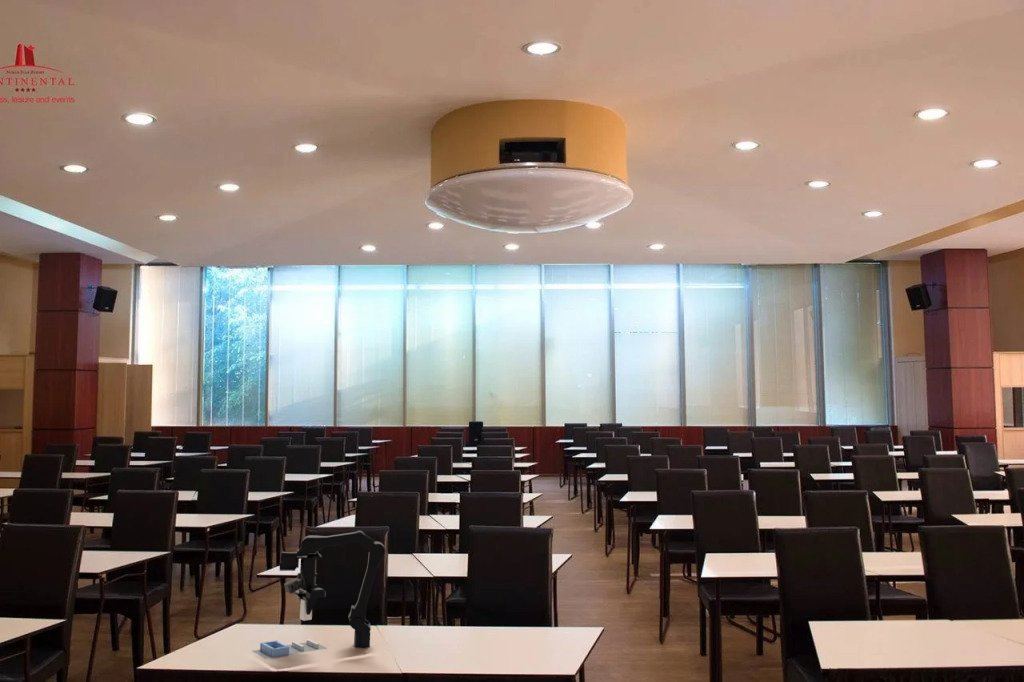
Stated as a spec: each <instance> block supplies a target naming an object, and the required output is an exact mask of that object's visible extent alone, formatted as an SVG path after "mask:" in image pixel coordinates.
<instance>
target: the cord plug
mask: <svg viewBox="0 0 1024 682" xmlns="http://www.w3.org/2000/svg"><path fill="white" fill-rule="evenodd" d="M312 618H313V610H312V611H311V613H310V614H309V615H307V613H306V601H305V599H301V605H300V608H299V619H300V620H302V621H303V622H305V621H311V620H312Z"/></svg>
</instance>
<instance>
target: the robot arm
mask: <svg viewBox="0 0 1024 682" xmlns="http://www.w3.org/2000/svg"><path fill="white" fill-rule="evenodd" d="M356 543H357V544H358V545H360V546H361V547H363V548H364V549H365V550H366V551H368V558H367V567H366V570H365V574H364V577H363V580H362V584H361V588H360V591H359V595H358V599H357V602H356V603H355V605H353V604H352V605H351V607H350V612H349V613H348V620H349V625H350V627H351V628H352V629H353V630H354V637H353V646H354V648H358V649H366V648H371V647H370V646H371V629H372V628H371V622H369V620H367V619H366V618H367V610H368V609H367V607H368V602H369V599H370V595H371V591H372V588H373V585H374V581H375V577H376V575H377V570H378V568H379V567H380V564H381V562H382V560H383V559H384V556H385V553H386V549H385V546H384V544H383V542H381V541H376V540H374V539H373V538H371V537H370V536H369V535H367V534H366V533H364V531H362V530H356V531H352V532H346V533H345V532H344V533H339V534H332V535H310V534H309V535H307V536H304V538H303V539H302V541H301V544H300V546H299V548H298V549H297V550H296V551H294V552H291V551H290V552H289V551H288V552H287V551H281V552H280V561H279V572H284V571H285V572H287V571H289V572H293V571H294V572H295V571H296V569H298V568H299V566H300V568H299V572H297V574H296V578H292V579H290V580H289V581H287V582H285V583H284V584H283V585H284V589H285V593H288V594H294V596H296V597H297V598H298V600H299V604H300V605H301V599H305V601H306V613H307V615H309V614H310V613H311V611H312V612H313V609H314V607H315V605H316V603H317V601H318V599H320V598H326V597H327V596H326V595H327V592H326V590H325V589H324V588H322V587H318V584H316V581H317V580H316V578H317V577H318V576H319V574H318V573H317V559H318V560H320V559H322V554H320V553H319V551H320V550H322V549H326V548H329V547H330V548H331V547H336V546H342V545H349V544H356ZM305 554H306V555H305Z"/></svg>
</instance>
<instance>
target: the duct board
mask: <svg viewBox="0 0 1024 682" xmlns="http://www.w3.org/2000/svg"><path fill="white" fill-rule="evenodd" d="M325 649H327V647H326V646H324V645H322V644H319V643H318V642H316V641H314V640H312V639H309V638H308V639H307V638H306V642H296V641H292V642H291V644H285V643H282V642H281V641H278V640H269V641H263V642H260V644H259V649H255V650H254V649H253V650H252V652H253V653H255V654H257V655H258V656H260V657H262V658H264V659H270V658H276V657H284V656H289V655H295V654H300V653H308V652H314V651H320V650H325Z"/></svg>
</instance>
